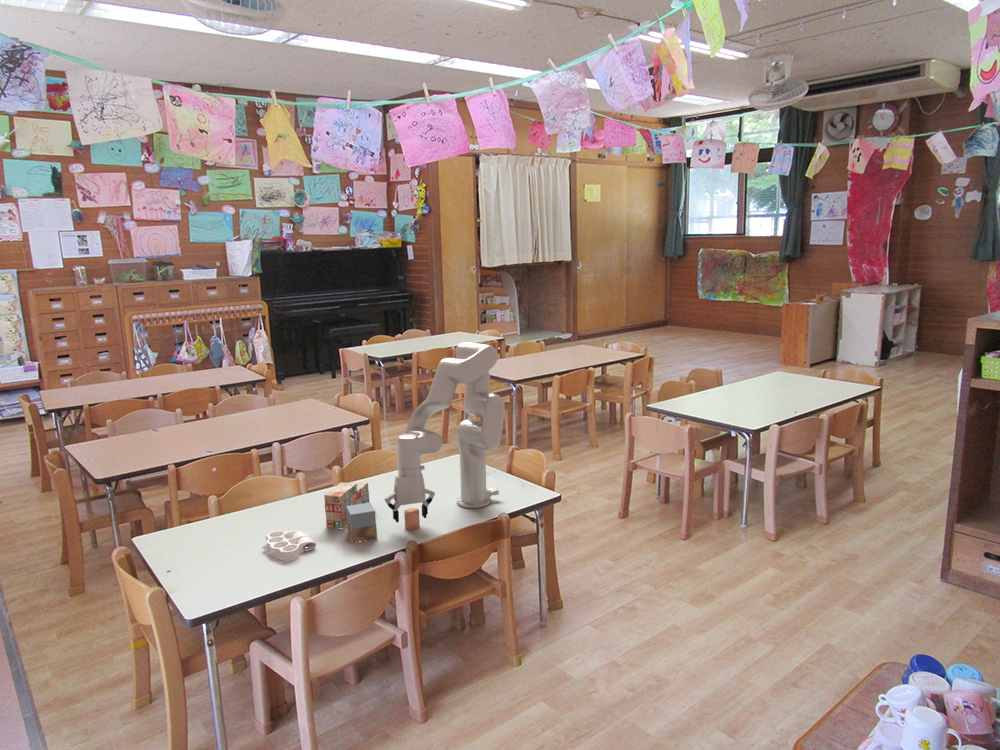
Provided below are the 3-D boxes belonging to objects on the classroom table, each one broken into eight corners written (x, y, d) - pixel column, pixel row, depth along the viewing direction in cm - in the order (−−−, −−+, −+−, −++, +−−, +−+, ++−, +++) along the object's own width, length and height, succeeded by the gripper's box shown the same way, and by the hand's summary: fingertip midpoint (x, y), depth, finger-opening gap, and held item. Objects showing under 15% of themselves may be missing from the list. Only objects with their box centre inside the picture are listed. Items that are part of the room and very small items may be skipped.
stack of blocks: (354, 504, 260) (352, 473, 257) (370, 506, 258) (368, 474, 256) (326, 528, 240) (323, 494, 237) (342, 529, 238) (340, 495, 235)
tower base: (371, 529, 238) (371, 516, 237) (377, 539, 230) (376, 524, 229) (348, 534, 235) (347, 520, 234) (352, 543, 227) (352, 529, 226)
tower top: (370, 516, 236) (370, 502, 235) (375, 525, 229) (375, 510, 228) (347, 520, 234) (346, 506, 233) (351, 529, 226) (350, 514, 225)
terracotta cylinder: (417, 523, 242) (416, 506, 241) (421, 528, 237) (420, 512, 236) (403, 525, 240) (402, 509, 239) (407, 531, 236) (406, 514, 234)
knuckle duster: (320, 553, 221) (274, 566, 213) (299, 533, 236) (256, 545, 227) (319, 543, 221) (273, 556, 212) (299, 524, 235) (255, 536, 227)
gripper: (430, 464, 241) (431, 511, 244) (381, 470, 235) (383, 518, 238) (437, 470, 234) (438, 519, 238) (386, 477, 228) (388, 526, 231)
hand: (410, 518), depth 238 cm, fingers open, 9 cm apart
